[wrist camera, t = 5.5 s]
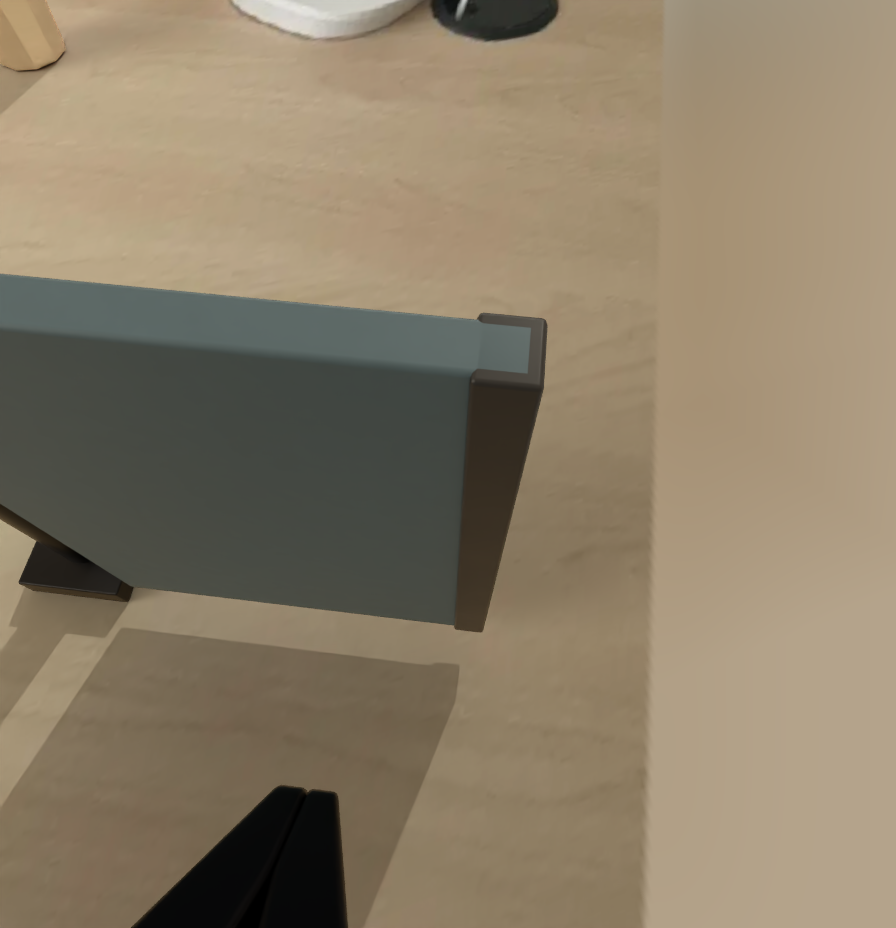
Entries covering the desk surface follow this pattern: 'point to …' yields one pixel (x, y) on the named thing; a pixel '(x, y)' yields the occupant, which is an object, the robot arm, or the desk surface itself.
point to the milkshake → (28, 35)
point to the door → (269, 443)
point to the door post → (63, 567)
